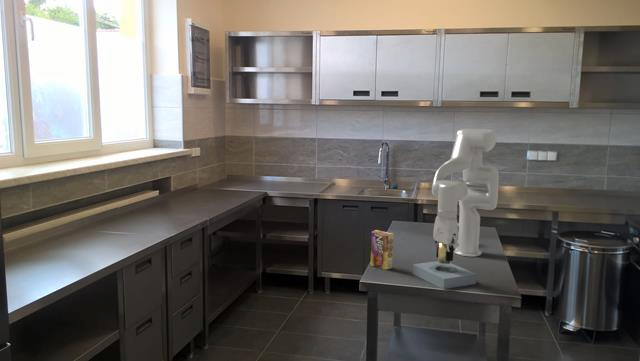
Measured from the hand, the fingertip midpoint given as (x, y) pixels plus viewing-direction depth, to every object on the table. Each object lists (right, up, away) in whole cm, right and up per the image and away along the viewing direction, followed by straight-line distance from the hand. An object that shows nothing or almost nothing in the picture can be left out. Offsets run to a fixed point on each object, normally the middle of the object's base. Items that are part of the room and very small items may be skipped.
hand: (444, 258), depth 212 cm
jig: (0, -8, +1) cm, 8 cm away
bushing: (0, -1, 0) cm, 1 cm away
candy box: (-24, -6, +15) cm, 29 cm away
